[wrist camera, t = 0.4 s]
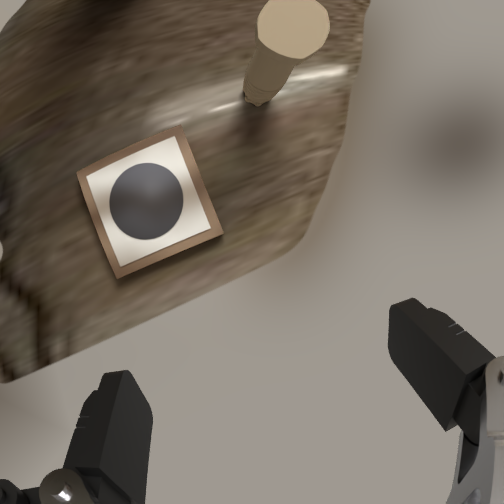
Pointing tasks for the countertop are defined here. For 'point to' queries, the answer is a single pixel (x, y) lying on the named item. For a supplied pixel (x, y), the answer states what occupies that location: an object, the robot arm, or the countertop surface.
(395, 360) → the robot arm
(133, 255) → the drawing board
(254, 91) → the handle
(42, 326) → the countertop surface
